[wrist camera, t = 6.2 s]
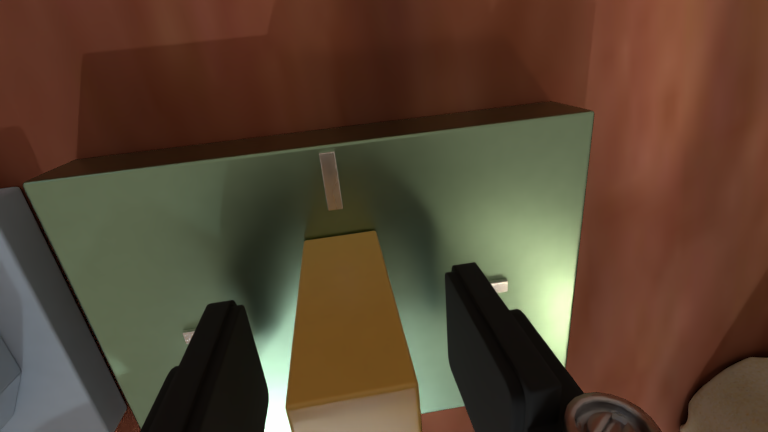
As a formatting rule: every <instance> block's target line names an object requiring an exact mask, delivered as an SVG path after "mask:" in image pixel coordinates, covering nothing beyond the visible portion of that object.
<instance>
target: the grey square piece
mask: <svg viewBox="0 0 768 432" xmlns="http://www.w3.org/2000/svg"><path fill="white" fill-rule="evenodd" d="M126 410H127V406H126V404H125V402H124V400H123V398H122V396H121V394H120V392H119V390H118V388H117V386H116V383H115V381H114V379H113V377H112V375H111V373H110V371H109V369H108V367H107V365H106V363H105V361H104V359H103V357H102V355H101V353H100V351H99V349H98V347H97V345H96V343H95V341H94V338H93V336H92V334H91V332H90V330H89V328H88V326H87V324H86V322H85V320H84V318H83V316H82V314H81V312H80V310H79V308H78V306H77V304H76V302H75V300H74V298H73V296H72V294H71V291H70V289H69V287H68V285H67V283H66V281H65V279H64V277H63V275H62V273H61V271H60V269H59V267H58V265H57V263H56V261H55V259H54V257H53V255H52V253H51V251H50V249H49V246H48V244H47V242H46V240H45V238H44V236H43V234H42V232H41V230H40V228H39V226H38V224H37V222H36V220H35V218H34V216H33V214H32V212H31V210H30V208H29V206H28V204H27V201H26V199H25V197H24V195H23V193H22V191H21V189H20V188H19V187H10V188H2V189H0V432H114V431H115V430H116V428H117V426H118V424H119V422H120V420H121V419H122V417H123V415H124V413H125V411H126Z"/></svg>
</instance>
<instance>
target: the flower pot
mask: <svg viewBox="0 0 768 432" xmlns="http://www.w3.org/2000/svg"><path fill="white" fill-rule="evenodd" d="M680 432H768V358H758V357H750V358H747V359H744V360H742V361H740V362H737V363H735V364H734V365H732V366H730V367H728V368H726V369H725V370H723V371H722V372H720V373H719V374H718V375H716V376H715V377H714V378H713V379H711V380H710V381H709V382H708V383H706V384H705V385H703V387H702V388H701V389H700V390H699V391H698V392H697V393H696V394H695V395H694V396H693V398H692V399H691V400H690V402H689V404H688V419H687V422H686V423H685V424H682V425H681V426H680Z"/></svg>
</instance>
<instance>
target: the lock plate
mask: <svg viewBox="0 0 768 432" xmlns="http://www.w3.org/2000/svg"><path fill="white" fill-rule="evenodd" d="M593 121H594V112H593V111H591V110H587V109H583V108H578V107H574V106H570V105H565V104H561V103H557V102H552V101H550V102H542V103H534V104H526V105H517V106H509V107H501V108H493V109H485V110H477V111H468V112H460V113H452V114H444V115H436V116H428V117H419V118H411V119H403V120H395V121H387V122H378V123H370V124H362V125H354V126H346V127H338V128H329V129H321V130H313V131H305V132H297V133H289V134H280V135H272V136H264V137H256V138H248V139H240V140H231V141H223V142H215V143H207V144H199V145H191V146H182V147H174V148H166V149H158V150H150V151H142V152H133V153H125V154H117V155H109V156H101V157H93V158H84V159H76V160H73V161H71V162H69V163H66V164H64V165H62V166H60V167H57V168H55V169H53V170H51V171H48V172H46V173H44V174H41V175H39V176H37V177H35V178H32V179H30V180H28V181H26V182H24V183H23V188H24V190H25V192H26V194H27V196H28V198H29V200H30V202H31V204H32V206H33V208H34V210H35V212H36V214H37V216H38V218H39V221H40V223H41V225H42V227H43V229H44V231H45V233H46V235H47V237H48V239H49V241H50V243H51V245H52V247H53V249H54V251H55V254H56V256H57V258H58V260H59V262H60V264H61V266H62V268H63V270H64V272H65V274H66V276H67V278H68V280H69V282H70V284H71V287H72V289H73V291H74V293H75V295H76V297H77V299H78V301H79V303H80V305H81V307H82V309H83V311H84V313H85V315H86V317H87V320H88V322H89V324H90V326H91V328H92V330H93V332H94V334H95V336H96V338H97V340H98V342H99V344H100V346H101V348H102V350H103V352H104V355H105V357H106V359H107V361H108V363H109V365H110V367H111V369H112V371H113V373H114V375H115V377H116V379H117V381H118V383H119V385H120V388H121V390H122V392H123V394H124V396H125V398H126V400H127V402H128V404H129V406H130V408H131V410H132V412H133V414H134V416H135V418H136V421H137V423H138V425H139V427H140V429H141V428H142V426H143V424H144V422H145V420H146V418H147V416H148V414H149V412H150V410H151V408H152V406H153V404H154V401H155V399H156V397H157V395H158V393H159V391H160V389H161V387H162V385H163V383H164V381H165V379H166V377H167V375H168V373H169V372H170V370H171V369H172V368H174V367H175V366H179V364H180V362H181V360H182V358H183V355H184V353H185V351H186V349H187V347H188V345H189V342H190V340H191V338H192V336H193V334H194V332H195V330H196V327H197V325H198V323H199V321H200V319H201V317H202V314H203V312H204V310H205V308H206V306H207V305H208V304H210V303H216V302H223V301H229V300H234V301H235V302H236V304H237V305H244V307H245V310H246V313H247V316H248V320H249V323H250V327H251V330H252V334H253V337H254V341H255V344H256V348H257V351H258V355H259V358H260V362H261V365H262V369H263V372H264V376H265V379H266V383H267V386H268V392H269V404H268V411H267V417H266V423H265V429H264V432H291V428H290V424H289V421H288V417H287V413H286V409H285V404H286V395H287V386H288V377H289V369H290V360H291V351H292V342H293V333H294V324H295V316H296V307H297V298H298V289H299V280H300V271H301V263H302V254H303V245H304V241H306V240H313V239H320V238H326V237H333V236H340V235H347V234H354V233H361V232H368V231H376V233H377V236H378V240H379V244H380V247H381V251H382V254H383V258H384V262H385V265H386V269H387V272H388V276H389V280H390V283H391V287H392V291H393V294H394V298H395V301H396V305H397V309H398V312H399V316H400V319H401V323H402V327H403V330H404V334H405V337H406V341H407V345H408V348H409V352H410V355H411V359H412V363H413V366H414V370H415V373H416V377H417V381H418V385H419V398H420V410H421V414H424V413H429V412H435V411H440V410H445V409H451V408H456V407H461V406H465V405H464V402H463V400H462V397H461V394H460V392H459V389H458V387H457V384H456V382H455V379H454V377H453V374H452V371H451V368H450V365H449V359H448V343H447V319H446V295H445V273H446V272H451V270H452V266H453V265H459V264H466V263H472V262H475V263H476V264H477V265H478V266H479V268H480V269H481V271H482V272H483V274H484V275H485V276H486V278H487V279H488V281H489V282H490V283H491V285H492V286H493V288H494V289H495V291H496V292H497V293H498V295H499V296H500V298H501V299H502V300H503V302H504V303H505V305H506V306H507V308H508V309H509V310H513V309H519V310H521V311H522V312H523V313H524V314H525V316H526V317H527V318H528V320H529V321H530V322H531V324H532V325H533V326H534V328H535V329H536V330H537V332H538V333H539V334H540V336H541V337H542V338H543V340H544V341H545V342H546V344H547V345H548V346H549V348H550V349H551V350H552V352H553V353H554V354H555V356H556V357H557V358H558V360H559V361H560V362H561V364H562V365H563V366H564V367H565V369H566V361H567V352H568V343H569V334H570V325H571V317H572V308H573V299H574V290H575V281H576V272H577V263H578V254H579V246H580V237H581V228H582V219H583V210H584V201H585V192H586V183H587V175H588V166H589V157H590V148H591V139H592V130H593Z"/></svg>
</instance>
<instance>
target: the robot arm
mask: <svg viewBox="0 0 768 432" xmlns="http://www.w3.org/2000/svg"><path fill="white" fill-rule="evenodd" d="M445 295H446V319H447V343H448V359H449V365H450V368H451V371H452V374H453V377H454V379H455V382H456V384H457V387H458V389H459V392H460V394H461V397H462V400H463V402H464V405H465V407H466V410H467V412H468V415H469V417H470V420H471V423H472V425H473V428H474V430H475V432H662V431H661V430H660V428H659V427H658V426H657V424H656V423H655V422H654V420H653V419H652V418H651V417H650V416H649V415H648V414H647V413H645V412H644V411H643V410H642V409H641V408H640V407H638V406H636V405H634V404H633V403H631V402H629V401H627V400H626V399H623V398H620V397H617V396H614V395H612V394H605V393H598V392H595V393H583V391H582V390H581V389H580V387H579V386H578V385H577V383H576V382H575V381H574V379H573V378H572V377H571V375H570V374H569V373H568V371H567V370H566V369H565V367H564V366H563V365H562V364H561V362H560V361H559V360H558V358H557V357H556V356H555V354H554V353H553V352H552V350H551V349H550V348H549V346H548V345H547V344H546V342H545V341H544V340H543V338H542V337H541V336H540V334H539V333H538V332H537V330H536V329H535V328H534V326H533V325H532V324H531V322H530V321H529V320H528V318H527V317H526V316H525V314H524V313H523V312H522V311H521V310H519V309H513V310H509V309H508V308H507V306H506V305H505V303H504V302H503V300H502V299H501V298H500V296H499V295H498V293H497V292H496V291H495V289H494V288H493V286H492V285H491V283H490V282H489V281H488V279H487V278H486V276H485V275H484V274H483V272H482V271H481V269H480V268H479V266H478V265H477V264H476V263H475V262H472V263H466V264H459V265H453V266H452V270H451V272H446V273H445ZM268 404H269V392H268V386H267V383H266V379H265V376H264V372H263V369H262V365H261V362H260V358H259V355H258V351H257V348H256V344H255V341H254V337H253V334H252V330H251V327H250V323H249V320H248V316H247V313H246V310H245V307H244V305H237V304H236V302H235V301H234V300H229V301H223V302H216V303H210V304H208V305H207V306H206V308H205V310H204V312H203V314H202V317H201V319H200V321H199V323H198V325H197V327H196V330H195V332H194V334H193V336H192V338H191V340H190V342H189V345H188V347H187V349H186V351H185V353H184V355H183V358H182V360H181V362H180V364H179V366H175V367H174V368H172V369H171V370H170V372H169V373H168V375H167V377H166V379H165V381H164V383H163V385H162V387H161V389H160V391H159V393H158V395H157V397H156V399H155V401H154V404H153V406H152V408H151V410H150V412H149V414H148V416H147V418H146V420H145V422H144V424H143V426H142V428H141V430H140V432H264V429H265V423H266V417H267V411H268Z"/></svg>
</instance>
